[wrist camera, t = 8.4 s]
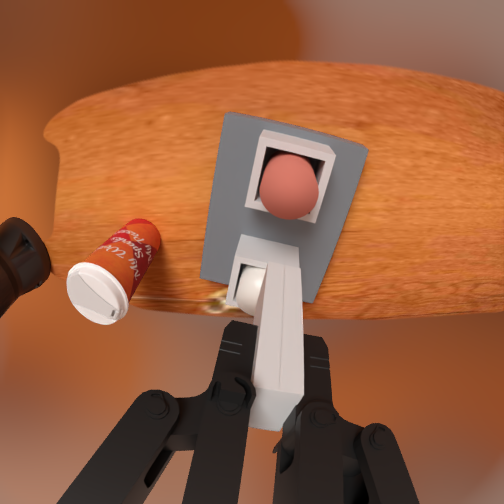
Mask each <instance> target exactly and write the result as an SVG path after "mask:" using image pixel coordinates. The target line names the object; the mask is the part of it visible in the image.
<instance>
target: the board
mask: <svg viewBox="0 0 504 504" xmlns="http://www.w3.org/2000/svg"><path fill="white" fill-rule="evenodd" d="M278 150H285V151H289V152H293V153H297V154H301V155H305V156H307V157H308V158H309V160H310V162H311V164H312V167H313V171H314V174H315V177H316V181H317V184H318V188H319V196H318V200H317V203H316V205H315V207H314V208H313V209H312V210H311V211H310V212H309V213H308V214H307V215H305V216H303V217H301V218H298V219H291V220H288V219H282V218H278V217H276V216H274V215H272V214H271V213H270V212H269V211H268V210H267V209H266V208H265V207H264V205H263V203H262V201H261V198H260V185H261V181H262V178H263V174H264V171H265V167H266V164H267V161H268V159H269V158H270V156H271V155H272V154H273V153H275V152H276V151H278ZM367 154H368V149H367V148H366V147H365V146H363V145H362V144H359V143H356V142H352V141H349V140H346V139H343V138H339V137H336V136H333V135H329V134H326V133H322V132H319V131H315V130H311V129H307V128H304V127H300V126H296V125H292V124H287V123H283V122H279V121H275V120H270V119H265V118H261V117H256V116H251V115H246V114H240V113H235V112H228V113H225V116H224V122H223V127H222V132H221V138H220V144H219V150H218V155H217V161H216V167H215V173H214V180H213V186H212V192H211V199H210V206H209V212H208V219H207V226H206V233H205V241H204V248H203V256H202V264H201V272H200V278H201V279H206V280H210V281H214V282H218V283H222V284H227V285H229V287H228V293H227V298H226V303H225V304H226V305H230V306H235V307H239V306H238V304H237V302H236V294H237V290H238V286H239V282H240V278H241V274H242V269H243V265H244V264H247V265H251V266H256V267H260V268H264V269H266V267H267V264H268V261H270V262H274V263H279V264H283V265H288V266H292V267H297V268H301V285H302V301H303V302H308V303H313V301H314V299H315V297H316V294H317V292H318V289H319V287H320V284H321V282H322V280H323V277H324V275H325V272H326V270H327V267H328V264H329V262H330V259H331V257H332V254H333V252H334V249H335V246H336V244H337V241H338V238H339V236H340V233H341V230H342V228H343V225H344V222H345V219H346V217H347V214H348V211H349V208H350V205H351V202H352V199H353V197H354V194H355V191H356V188H357V185H358V182H359V179H360V176H361V173H362V170H363V166H364V163H365V160H366V157H367ZM239 308H240V307H239Z"/></svg>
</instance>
